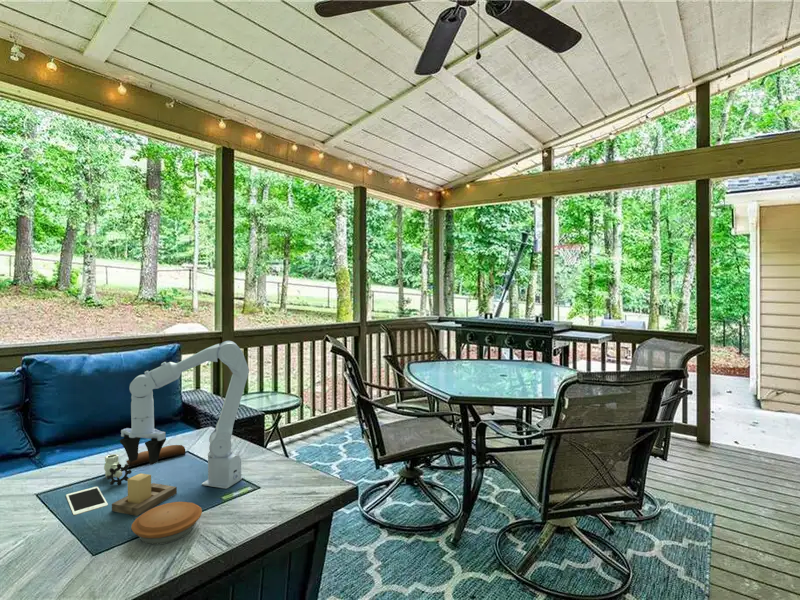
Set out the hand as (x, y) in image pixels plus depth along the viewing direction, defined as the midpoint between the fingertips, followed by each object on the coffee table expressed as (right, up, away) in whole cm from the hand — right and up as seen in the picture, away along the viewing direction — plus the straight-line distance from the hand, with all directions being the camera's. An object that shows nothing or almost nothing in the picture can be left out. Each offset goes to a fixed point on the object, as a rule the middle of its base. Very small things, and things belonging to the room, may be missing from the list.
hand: (143, 462), depth 125 cm
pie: (+18, -10, -19) cm, 28 cm away
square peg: (+2, -10, -6) cm, 12 cm away
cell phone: (-15, -11, -3) cm, 18 cm away
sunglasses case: (-13, -10, +28) cm, 33 cm away
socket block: (+3, -10, -4) cm, 11 cm away
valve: (-16, -10, +11) cm, 22 cm away
